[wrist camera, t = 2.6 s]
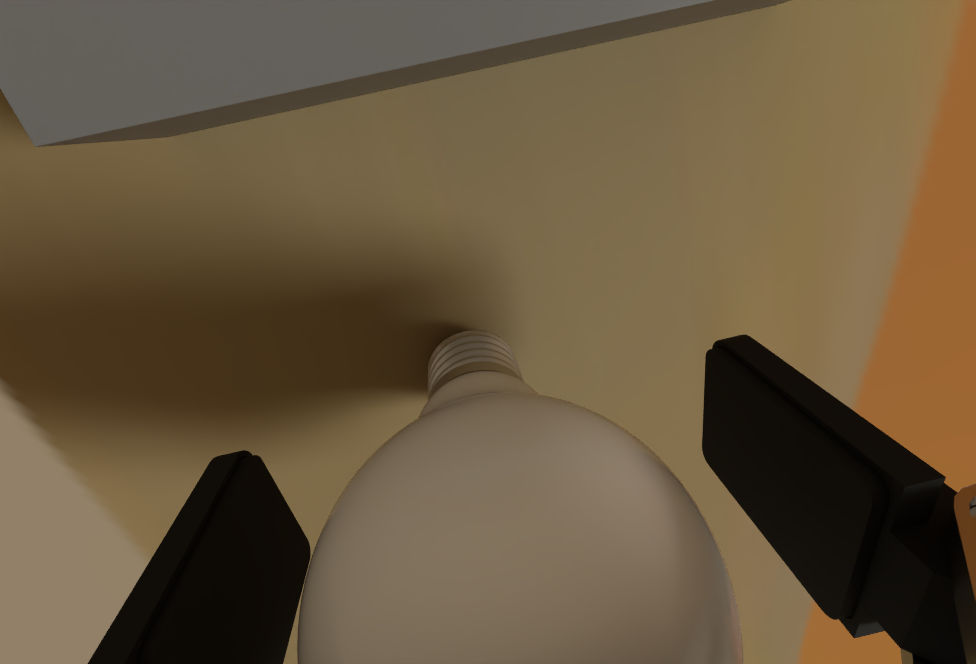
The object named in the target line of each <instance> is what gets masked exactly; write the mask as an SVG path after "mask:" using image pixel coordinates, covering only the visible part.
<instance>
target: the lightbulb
mask: <svg viewBox="0 0 976 664" xmlns="http://www.w3.org/2000/svg"><path fill="white" fill-rule="evenodd" d="M297 653H298V664H744V663H743V644H742V634H741V626H740V619H739V614H738V608H737V604H736V599H735V595H734V591H733V587H732V583H731V580H730V577H729V574H728V570H727V568H726V565H725V562H724V559H723V556H722V554H721V551H720V549H719V546H718V544H717V542H716V540H715V537H714V535H713V533H712V531H711V529H710V527H709V525H708V523H707V521H706V519H705V518H704V516H703V514H702V512H701V511H700V509H699V507H698V506H697V504H696V503H695V501H694V500H693V498H692V497H691V495H690V494H689V492H688V491H687V490H686V488H685V487H684V485H683V484H682V483H681V481H680V480H679V479H678V478H677V477H676V475H675V474H674V473H673V472H672V471H671V469H670V468H669V467H668V466H667V465H666V464H665V463H664V462H663V461H662V460H661V459H660V458H659V457H658V456H657V455H656V454H655V453H654V452H653V451H652V450H651V449H650V448H648V447H647V446H646V445H645V444H644V443H643V442H641V441H640V440H639V439H638V438H636V437H635V436H634V435H632V434H631V433H630V432H628V431H627V430H625V429H624V428H622V427H621V426H619V425H617V424H616V423H614V422H613V421H611V420H609V419H607V418H605V417H603V416H602V415H600V414H598V413H595V412H593V411H591V410H589V409H586V408H584V407H582V406H579V405H576V404H573V403H570V402H567V401H564V400H560V399H556V398H552V397H548V396H543V395H539V394H538V393H537V392H536V391H535V390H534V389H533V388H531V387H530V386H529V385H528V384H526V383H525V382H524V380H523V378H522V374H521V372H520V369H519V366H518V364H517V361H516V358H515V356H514V354H513V352H512V350H511V348H510V347H509V345H508V344H507V343H506V342H505V341H504V340H503V339H501V338H500V337H498V336H497V335H494V334H492V333H490V332H486V331H480V330H469V331H463V332H459V333H456V334H454V335H452V336H450V337H448V338H447V339H445V340H444V341H443V342H441V343H440V344H439V345H438V346H437V348H436V349H435V350H434V352H433V353H432V355H431V358H430V360H429V364H428V402H427V403H426V404H425V406H424V408H423V410H422V411H421V413H420V416H419V418H418V419H416V420H415V421H413V422H412V423H410V424H408V425H407V426H406V427H404V428H403V429H401V430H400V431H399V432H397V433H396V434H395V435H394V436H392V437H391V438H390V439H389V440H388V441H386V442H385V443H384V444H383V445H382V446H381V447H380V448H379V449H378V450H377V451H376V452H375V453H374V454H373V455H372V456H371V457H370V458H369V459H368V460H367V461H366V462H365V463H364V464H363V466H362V467H361V468H360V469H359V470H358V471H357V473H356V474H355V475H354V477H353V478H352V479H351V481H350V482H349V483H348V485H347V486H346V488H345V489H344V491H343V492H342V494H341V495H340V497H339V499H338V500H337V502H336V504H335V505H334V507H333V509H332V511H331V513H330V515H329V517H328V519H327V521H326V523H325V525H324V527H323V529H322V532H321V534H320V536H319V539H318V541H317V544H316V547H315V550H314V553H313V555H312V558H311V562H310V565H309V569H308V572H307V576H306V580H305V584H304V589H303V594H302V600H301V607H300V614H299V624H298V645H297Z"/></svg>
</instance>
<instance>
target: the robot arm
mask: <svg viewBox="0 0 976 664" xmlns="http://www.w3.org/2000/svg"><path fill="white" fill-rule="evenodd" d="M702 450H703V455H704V457H705V460H706V462H707V463H708V465H709V466H710V467H711V469H712V470H713V471H714V473H715V474H716V475H717V476H718V478H719V479H720V480H721V482H722V483H723V484H724V485H725V487H726V488H727V489H728V491H729V492H730V493H731V494H732V496H733V497H734V498H735V500H736V501H737V502H738V503H739V505H740V506H741V507H742V508H743V510H744V511H745V512H746V514H747V515H748V516H749V517H750V519H751V520H752V521H753V523H754V524H755V525H756V526H757V528H758V529H759V530H760V532H761V533H762V534H763V535H764V537H765V538H766V539H767V540H768V542H769V543H770V544H771V546H772V547H773V548H774V549H775V551H776V552H777V553H778V555H779V556H780V557H781V558H782V560H783V561H784V562H785V564H786V565H787V566H788V567H789V569H790V570H791V571H792V572H793V574H794V575H795V576H796V578H797V579H798V580H799V581H800V583H801V584H802V585H803V587H804V588H805V589H806V590H807V592H808V593H809V594H810V596H811V597H812V598H813V599H814V601H815V602H816V603H817V604H818V606H819V607H820V608H821V609H822V611H823V612H824V613H825V614H826V615H828V616H829V617H830V618H832V619H834V620H836V619H839V620H840V621H841V623H842V624H843V625H844V626H845V628H846V629H847V630H848V631H849V633H850V634H851V635H852V636H853V638H857V637H861V636H865V635H870V634H874V633H878V632H882V631H886V632H887V633H888V634H889V636H890V637H891V638H892V639H893V640H894V641H895V642H896V644H897V645H899V647H900V648H901V658H902V664H976V484H973V485H970V486H968V487H965V488H962V489H961V490H960V491H959V492H958V493H957V492H956V491H954V490H953V489H952V488H950V487H949V486H947V485H946V484H945V483H944V481H945V478H946V477H945V476H943V475H942V474H941V473H939V472H938V471H936V470H935V469H934V468H932V467H931V466H929V465H928V464H927V463H925V462H924V461H922V460H921V459H920V458H918V457H917V456H916V455H914V454H913V453H911V452H910V451H909V450H907V449H906V448H904V447H903V446H902V445H900V444H899V443H897V442H896V441H895V440H893V439H892V438H891V437H889V436H888V435H886V434H885V433H884V432H882V431H881V430H879V429H878V428H876V427H875V426H874V425H872V424H871V423H870V422H868V421H867V420H865V419H864V418H863V417H861V416H860V415H859V414H857V413H856V412H854V411H853V410H852V409H850V408H849V407H847V406H846V405H845V404H843V403H842V402H840V401H839V400H838V399H836V398H835V397H833V396H832V395H831V394H829V393H828V392H826V391H825V390H824V389H822V388H821V387H820V386H818V385H817V384H815V383H814V382H813V381H811V380H810V379H808V378H807V377H806V376H804V375H803V374H801V373H800V372H799V371H797V370H796V369H794V368H793V367H792V366H790V365H789V364H787V363H786V362H785V361H783V360H782V359H781V358H779V357H778V356H776V355H775V354H774V353H772V352H771V351H769V350H768V349H767V348H765V347H764V346H762V345H761V344H760V343H758V342H757V341H755V340H754V339H753V338H751V337H750V336H748V335H739V336H735V337H731V338H726V339H722V340H718V341H716V342H715V343H714V345H713V348H712V349H710V350H708V351H707V353H706V362H705V387H704V412H703V438H702ZM309 561H310V545H309V542H308V539H307V538H306V536H305V534H304V532H303V531H302V529H301V527H300V525H299V524H298V522H297V520H296V518H295V517H294V515H293V513H292V511H291V510H290V508H289V506H288V504H287V503H286V501H285V499H284V497H283V496H282V494H281V492H280V490H279V489H278V487H277V485H276V483H275V482H274V480H273V478H272V476H271V475H270V473H269V471H268V469H267V468H266V466H265V464H264V462H263V461H262V459H261V458H260V457H259V456H257V455H253V456H252V454H251V453H250V452H248V451H244V450H243V451H239V452H234V453H230V454H226V455H221V456H217V457H215V458H213V459H212V460H211V462H210V463H209V465H208V466H207V468H206V470H205V471H204V473H203V475H202V476H201V478H200V480H199V481H198V483H197V484H196V486H195V488H194V489H193V491H192V493H191V494H190V496H189V498H188V499H187V501H186V503H185V504H184V506H183V508H182V509H181V511H180V512H179V514H178V516H177V517H176V519H175V521H174V522H173V524H172V526H171V527H170V529H169V531H168V532H167V534H166V536H165V537H164V539H163V540H162V542H161V544H160V545H159V547H158V549H157V550H156V552H155V554H154V555H153V557H152V559H151V560H150V562H149V564H148V565H147V567H146V568H145V570H144V572H143V574H142V575H141V577H140V578H139V580H138V582H137V583H136V585H135V587H134V588H133V590H132V592H131V593H130V595H129V597H128V599H127V600H126V601H125V603H124V605H123V606H122V608H121V610H120V611H119V613H118V615H117V616H116V618H115V620H114V621H113V623H112V625H111V626H110V628H109V629H108V631H107V633H106V635H105V636H104V638H103V640H102V641H101V643H100V644H99V646H98V648H97V649H96V651H95V653H94V654H93V656H92V658H91V659H90V661H89V662H88V664H283V661H284V658H285V654H286V650H287V646H288V642H289V638H290V634H291V630H292V627H293V623H294V619H295V615H296V611H297V607H298V603H299V599H300V596H301V592H302V588H303V584H304V580H305V576H306V572H307V568H308V565H309Z"/></svg>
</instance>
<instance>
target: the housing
mask: <svg viewBox="0 0 976 664" xmlns="http://www.w3.org/2000/svg"><path fill="white" fill-rule="evenodd" d="M787 1H790V0H0V89H1V91H2V92H3V94H4V96H5V97H6V99H7V101H8V102H9V104H10V106H11V107H12V109H13V111H14V112H15V114H16V116H17V117H18V119H19V121H20V122H21V124H22V126H23V127H24V129H25V131H26V132H27V134H28V136H29V137H30V139H31V141H32V142H33V144H34V146H35V147H41V146H54V145H68V144H82V143H95V142H109V141H123V140H136V139H150V138H164V137H170V136H175V135H180V134H184V133H189V132H194V131H198V130H203V129H207V128H212V127H217V126H221V125H226V124H230V123H235V122H240V121H244V120H249V119H253V118H258V117H263V116H267V115H272V114H276V113H281V112H286V111H290V110H295V109H300V108H304V107H309V106H313V105H318V104H323V103H327V102H332V101H336V100H341V99H346V98H350V97H355V96H359V95H364V94H369V93H373V92H378V91H382V90H387V89H392V88H396V87H401V86H405V85H410V84H415V83H419V82H424V81H429V80H433V79H438V78H442V77H447V76H452V75H456V74H461V73H465V72H470V71H475V70H479V69H484V68H488V67H493V66H498V65H502V64H507V63H511V62H516V61H521V60H525V59H530V58H534V57H539V56H544V55H548V54H553V53H558V52H562V51H567V50H571V49H576V48H581V47H585V46H590V45H594V44H599V43H604V42H608V41H613V40H617V39H622V38H627V37H631V36H636V35H640V34H645V33H650V32H654V31H659V30H664V29H668V28H673V27H677V26H682V25H687V24H691V23H696V22H700V21H705V20H710V19H714V18H719V17H723V16H728V15H733V14H737V13H742V12H746V11H751V10H756V9H760V8H765V7H769V6H774V5H778V4H781V3H784V2H787Z"/></svg>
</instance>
